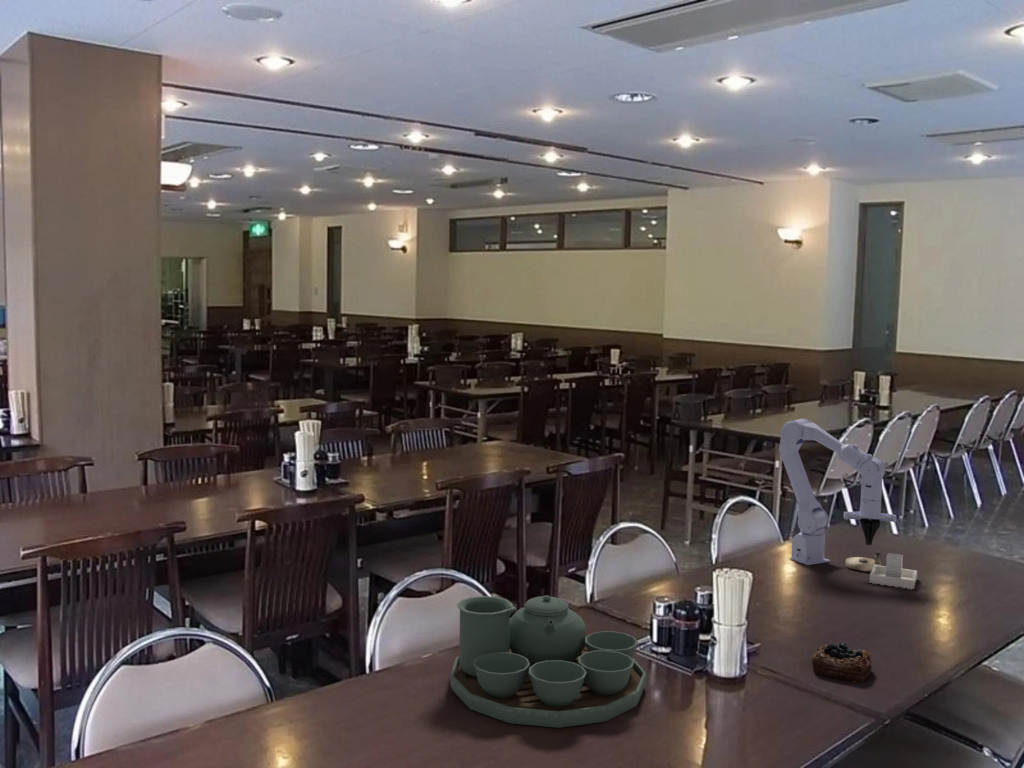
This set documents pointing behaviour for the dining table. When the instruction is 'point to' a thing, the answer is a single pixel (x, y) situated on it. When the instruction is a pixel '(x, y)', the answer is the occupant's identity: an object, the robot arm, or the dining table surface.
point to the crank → (863, 562)
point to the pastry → (842, 663)
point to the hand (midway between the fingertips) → (868, 544)
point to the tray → (905, 582)
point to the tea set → (542, 664)
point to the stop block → (894, 565)
